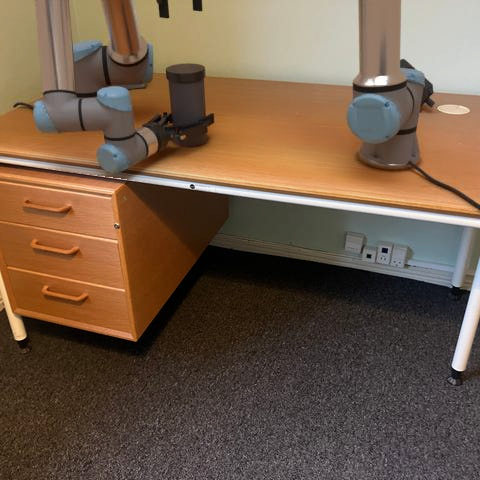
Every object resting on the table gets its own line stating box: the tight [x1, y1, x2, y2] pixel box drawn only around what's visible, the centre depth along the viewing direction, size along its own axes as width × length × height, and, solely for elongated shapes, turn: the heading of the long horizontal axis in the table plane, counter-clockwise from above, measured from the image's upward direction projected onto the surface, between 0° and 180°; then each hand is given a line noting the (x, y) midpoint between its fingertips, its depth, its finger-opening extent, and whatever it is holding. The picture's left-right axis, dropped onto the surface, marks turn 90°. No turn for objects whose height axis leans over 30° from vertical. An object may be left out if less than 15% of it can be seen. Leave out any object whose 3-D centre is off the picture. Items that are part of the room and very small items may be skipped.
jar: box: [167, 78, 208, 147], centre depth 148 cm, size 10×10×20 cm
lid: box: [165, 62, 206, 82], centre depth 143 cm, size 11×11×2 cm
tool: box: [400, 58, 436, 108], centre depth 172 cm, size 6×19×15 cm, turn 51°
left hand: (198, 115), depth 153 cm, fingers closed on jar, 10 cm apart
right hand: (181, 14), depth 135 cm, fingers open, 11 cm apart
